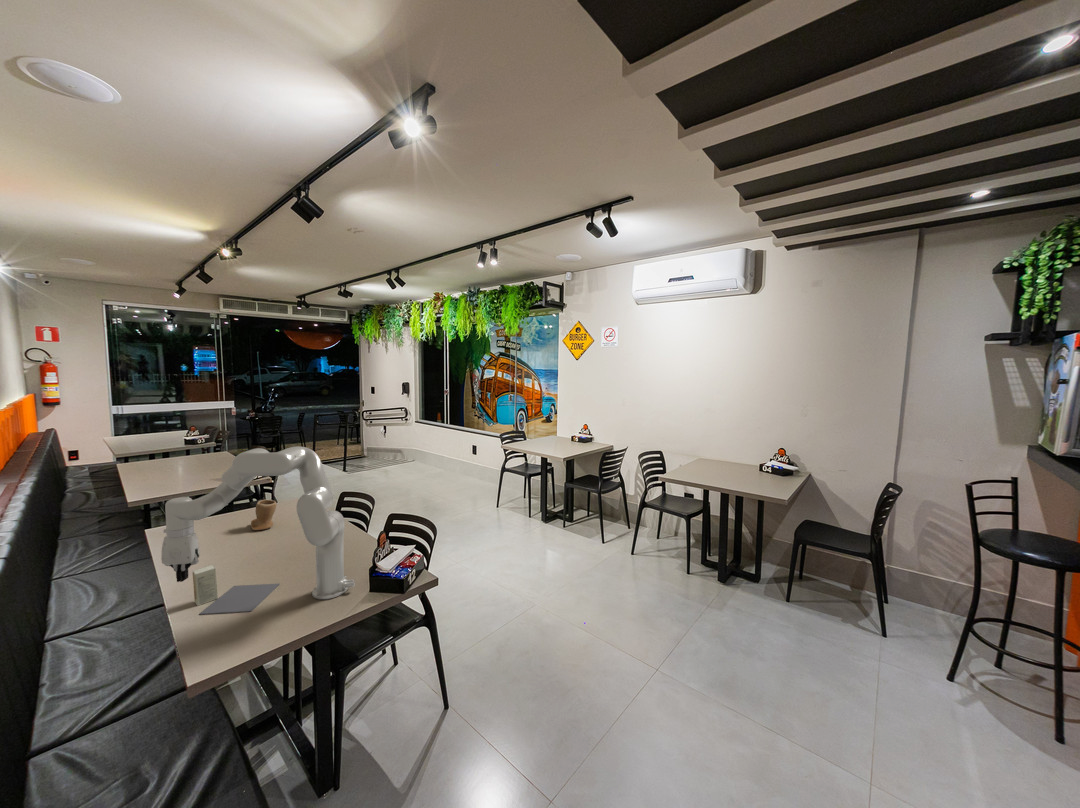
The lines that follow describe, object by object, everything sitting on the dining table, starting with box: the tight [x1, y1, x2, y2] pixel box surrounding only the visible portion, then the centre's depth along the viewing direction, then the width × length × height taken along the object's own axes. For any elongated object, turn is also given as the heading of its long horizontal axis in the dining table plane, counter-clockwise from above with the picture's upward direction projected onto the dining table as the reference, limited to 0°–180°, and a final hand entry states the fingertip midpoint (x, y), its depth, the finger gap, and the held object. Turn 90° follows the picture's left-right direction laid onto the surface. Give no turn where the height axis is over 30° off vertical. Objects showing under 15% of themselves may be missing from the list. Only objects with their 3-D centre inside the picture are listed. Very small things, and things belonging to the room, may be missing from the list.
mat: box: [198, 583, 280, 616], centre depth 149 cm, size 17×19×1 cm
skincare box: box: [191, 564, 219, 607], centre depth 148 cm, size 6×4×12 cm
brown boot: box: [250, 499, 277, 531], centre depth 221 cm, size 15×12×15 cm
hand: (182, 579), depth 146 cm, fingers closed
